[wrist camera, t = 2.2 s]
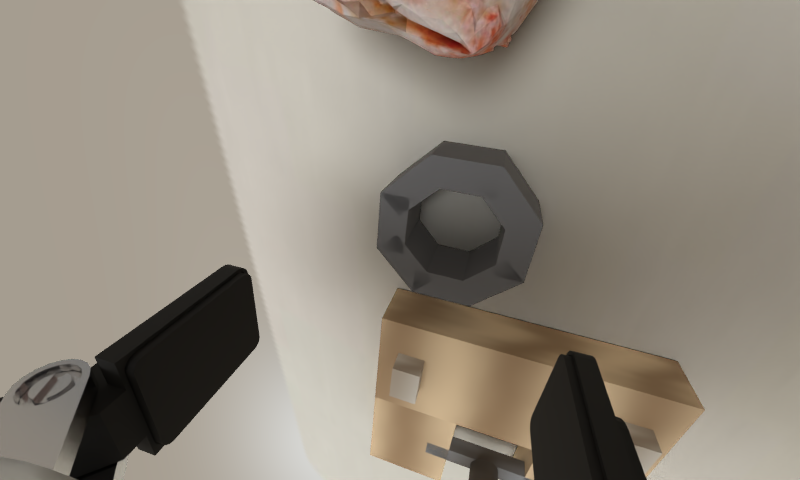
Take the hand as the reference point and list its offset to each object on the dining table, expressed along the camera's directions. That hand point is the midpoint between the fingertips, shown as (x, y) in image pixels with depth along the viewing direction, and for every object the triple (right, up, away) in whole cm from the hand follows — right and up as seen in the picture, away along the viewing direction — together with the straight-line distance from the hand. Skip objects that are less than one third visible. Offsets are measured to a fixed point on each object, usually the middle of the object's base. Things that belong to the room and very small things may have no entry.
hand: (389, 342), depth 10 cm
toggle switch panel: (+7, -8, +13) cm, 17 cm away
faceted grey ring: (+4, +4, +8) cm, 10 cm away
